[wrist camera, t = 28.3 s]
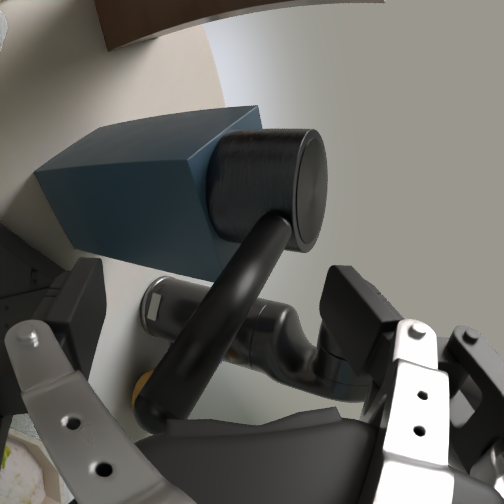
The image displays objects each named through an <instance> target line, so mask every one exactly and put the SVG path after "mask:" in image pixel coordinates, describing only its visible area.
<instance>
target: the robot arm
mask: <svg viewBox="0 0 504 504" xmlns="http://www.w3.org/2000/svg"><path fill="white" fill-rule="evenodd" d="M210 288H211V287H207V286H203V285H199V284H195V283H191V282H187V281H183V280H178V279H175V278H173V277H169V276H163V277H160V278H158V279H157V280H155V281H154V282H153V283H152V284H151V285H150V286H149V288H148V289H147V291H146V293H145V295H144V298H143V301H142V306H141V320H142V324H143V327H144V329H145V330H146V331H147V332H148V333H149V334H150V335H152V336H155V337H159V338H162V339H164V340H167V341H170V342H172V343H173V342H174V340H175V339H176V337H177V336H178V335H179V333H180V332H181V330H182V329H183V327H184V326H185V324H186V323H187V321H188V320H189V319H190V317H191V316H192V314H193V313H194V311H195V310H196V308H197V307H198V305H199V304H200V303H201V301H202V300H203V298H204V297H205V295H206V294H207V292H208V291H209V290H210ZM106 306H107V303H106V292H105V284H104V274H103V265H102V260H101V259H100V258H82V257H80V258H79V259H78V261H77V262H76V264H75V266H74V267H73V269H72V271H65V272H63V273H62V274H61V275H59V276H58V277H56V278H55V279H54V281H53V283H52V284H51V286H50V287H49V289H48V291H47V292H46V294H45V297H43V299H42V301H41V302H40V304H39V306H38V308H37V309H36V311H35V313H34V315H33V316H32V318H31V320H26V321H22V322H20V323H17V324H16V325H14V326H13V327H11V328H10V329H9V331H8V332H7V334H6V336H5V340H0V471H1V465H2V460H3V455H4V450H5V445H6V441H7V437H8V432H9V428H10V424H11V420H12V417H13V415H16V414H25V413H29V416H30V418H31V420H32V422H33V424H34V427H35V429H36V431H37V433H38V435H39V437H40V439H41V441H42V443H43V445H44V447H45V449H46V451H47V453H48V454H49V456H50V458H51V460H52V462H53V464H54V465H55V467H56V469H57V471H58V472H59V474H60V476H61V477H62V479H63V481H64V482H65V484H66V486H67V487H68V489H69V490H70V492H71V494H72V495H73V497H74V499H73V500H72V501H71V502H69V503H68V504H504V360H503V358H502V357H501V356H500V355H499V354H498V353H497V352H496V351H495V349H494V348H493V347H492V346H491V345H490V344H489V343H488V342H487V341H486V339H485V338H484V337H483V336H482V335H481V334H479V333H478V332H477V331H475V330H474V329H472V328H470V327H467V326H457V327H456V328H455V329H454V331H453V333H452V335H451V336H450V338H442V337H436V335H435V332H434V331H433V330H432V329H431V328H430V327H429V326H428V325H426V324H425V323H423V322H420V321H418V320H414V319H404V318H403V317H402V316H401V315H400V314H399V313H398V311H397V310H396V309H395V308H394V307H393V306H392V305H391V304H390V303H389V301H387V299H386V298H385V297H384V296H383V295H381V293H380V292H379V291H378V289H377V288H376V287H375V286H374V285H372V284H371V283H369V282H368V281H366V280H364V279H363V278H362V277H361V276H360V274H359V273H358V272H357V271H356V270H355V269H354V268H353V267H352V266H342V265H332V266H331V267H330V268H329V270H328V273H327V277H326V281H325V284H324V288H323V292H322V296H321V300H320V305H319V306H320V307H319V309H320V315H321V318H322V322H321V325H320V329H319V335H318V342H317V347H315V346H313V345H312V344H311V343H310V342H309V341H308V339H307V338H306V337H305V335H304V332H303V330H302V327H301V324H300V320H299V317H298V314H297V312H296V310H295V309H294V308H293V307H292V306H290V305H288V304H284V303H280V302H275V301H270V300H266V299H261V298H257V299H256V301H255V303H254V304H253V306H252V308H251V310H250V311H249V313H248V315H247V317H246V319H245V320H244V322H243V324H242V326H241V327H240V329H239V331H238V333H237V334H236V336H235V338H234V340H233V341H232V343H231V345H230V347H229V348H228V350H227V352H226V354H225V355H224V357H223V359H222V360H223V361H226V362H229V363H232V364H236V365H239V366H242V367H245V368H248V369H251V370H255V371H258V372H261V373H264V374H266V375H267V376H268V377H270V378H271V379H272V380H274V381H276V382H278V383H280V384H283V385H287V386H289V387H292V388H295V389H298V390H302V391H305V392H308V393H311V394H314V395H317V396H320V397H324V398H327V399H331V400H335V401H341V402H348V403H360V402H364V406H363V409H362V413H361V416H360V420H355V419H348V418H341V416H340V414H339V412H338V410H337V408H336V407H330V408H325V409H317V410H311V411H304V412H298V413H295V414H292V415H290V416H287V417H284V418H281V419H278V420H276V421H273V422H269V423H266V424H263V425H257V426H256V425H247V424H239V423H232V422H225V421H218V420H213V419H202V420H201V419H199V420H171V419H167V432H163V433H158V434H155V435H152V436H149V437H147V438H144V439H142V440H140V441H138V442H136V443H133V442H132V441H131V439H130V438H129V437H128V436H127V434H126V433H125V432H124V431H123V429H122V428H121V427H120V426H119V424H118V423H117V422H116V420H115V419H114V418H113V417H112V415H111V414H110V413H109V411H108V410H107V408H106V407H105V406H104V404H103V403H102V402H101V400H100V399H99V397H98V396H97V394H96V393H95V392H94V390H93V389H92V387H91V386H90V384H89V383H88V378H89V374H90V370H91V366H92V362H93V358H94V355H95V351H96V347H97V343H98V340H99V336H100V333H101V329H102V326H103V322H104V319H105V316H106ZM448 463H449V464H450V465H451V466H452V467H451V466H449V465H448Z"/></svg>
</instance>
